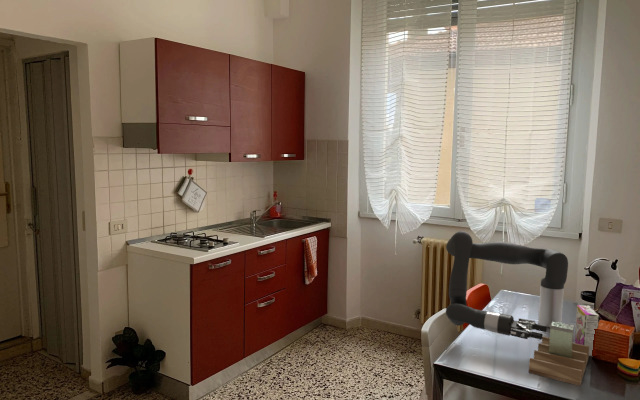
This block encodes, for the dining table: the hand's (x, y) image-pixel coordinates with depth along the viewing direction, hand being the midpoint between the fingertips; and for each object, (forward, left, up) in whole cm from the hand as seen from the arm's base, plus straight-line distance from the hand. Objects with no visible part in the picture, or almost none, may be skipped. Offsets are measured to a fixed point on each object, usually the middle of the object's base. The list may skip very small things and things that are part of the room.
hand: (544, 332), depth 178 cm
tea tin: (0, +6, -10) cm, 11 cm away
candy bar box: (-20, +12, -11) cm, 26 cm away
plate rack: (0, +6, -11) cm, 12 cm away
